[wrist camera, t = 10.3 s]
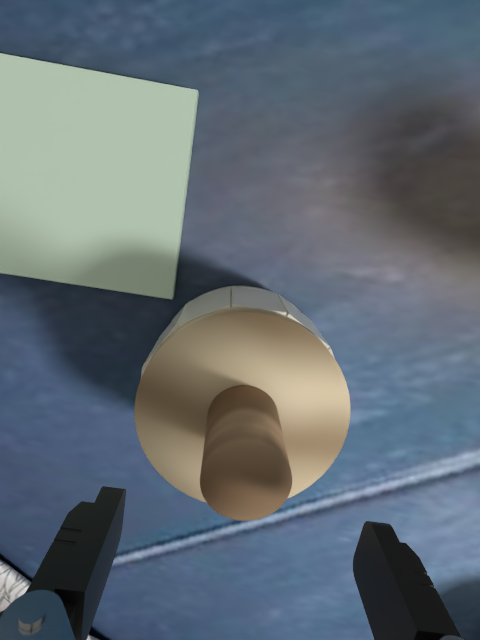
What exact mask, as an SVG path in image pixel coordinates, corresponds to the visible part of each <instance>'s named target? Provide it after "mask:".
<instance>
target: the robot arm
mask: <svg viewBox="0 0 480 640" xmlns="http://www.w3.org/2000/svg"><path fill="white" fill-rule="evenodd" d="M125 496H126V489H120V488H112V487H104V486H103V487H102V488H101V490H100V492H99V494H98V496H97V498H96V501H95V503H89V502H80V503H79V504H78V505H77V506H76V507H75V508H74V509H72V510H71V511H70V512H69V513H68V515H67V516H66V518H65V520H64V522H63V524H62V526H61V528H60V530H59V531H58V533H57V535H56V537H55V539H54V542H53V543H52V545H51V546H50V548H49V550H48V552H47V554H46V556H45V558H44V559H43V561H42V563H41V565H40V567H39V569H38V571H37V573H36V574H35V576H34V578H33V580H32V582H31V584H30V586H29V587H28V589H27V591H26V592H25V593H24V595H22V596H20V597H18V598H17V599H15V600H14V601H13V602H12V603H11V604H10V605H9V606H8V607H7V608H6V609H5V610H3V611H1V612H0V640H87V638H88V635H89V632H90V629H91V626H92V623H93V620H94V617H95V614H96V611H97V608H98V605H99V602H100V599H101V596H102V593H103V590H104V587H105V584H106V581H107V578H108V575H109V572H110V569H111V566H112V563H113V560H114V557H115V554H116V551H117V548H118V545H119V541H120V537H121V532H122V525H123V515H124V506H125ZM353 572H354V577H355V581H356V584H357V587H358V590H359V593H360V596H361V599H362V602H363V605H364V609H365V612H366V615H367V618H368V621H369V624H370V627H371V630H372V633H373V636H374V639H375V640H465V639H463V638H461V636H460V634H459V632H458V631H457V629H456V627H455V625H454V623H453V621H452V619H451V617H450V615H449V613H448V612H447V610H446V608H445V606H444V604H443V602H442V600H441V598H440V596H439V594H438V593H437V591H436V589H434V585H433V583H432V581H431V579H430V577H429V576H427V572H426V570H425V568H424V566H423V564H422V562H421V560H420V558H419V557H418V556H417V555H416V554H415V552H414V551H413V550H412V549H411V548H410V547H409V546H408V545H407V544H406V543H401V542H399V540H398V538H397V536H396V534H395V532H394V530H393V528H392V526H391V525H390V524H386V523H378V522H370V521H366V522H365V524H364V526H363V529H362V532H361V535H360V538H359V542H358V545H357V548H356V551H355V555H354V559H353Z"/></svg>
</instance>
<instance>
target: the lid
mask: <svg viewBox="0 0 480 640" xmlns="http://www.w3.org/2000/svg"><path fill="white" fill-rule="evenodd" d="M134 416H135V424H136V430H137V434H138V438H139V441H140V443H141V446H142V448H143V450H144V453H145V454H146V456H147V458H148V459H149V461H150V463H151V464H152V465H153V466H154V468H155V469H156V470H157V471H158V473H159V474H160V475H161V476H162V477H163V478H165V479H166V480H167V481H168V482H169V483H170V484H172V485H173V486H174V487H176V488H177V489H178V490H180V491H182V492H184V493H185V494H187V495H189V496H191V497H193V498H196V499H198V500H200V501H203V502H207V503H208V505H209V506H210V507H211V508H212V509H213V510H215V511H216V512H217V513H219V514H221V515H223V516H225V517H228V518H231V519H235V520H244V521H245V520H256V519H260V518H263V517H265V516H268V515H270V514H272V513H273V512H275V511H276V510H277V509H279V508H280V507H281V506H282V505H283V504H284V502H285V501H286V499H287V498H290V497H292V496H294V495H296V494H297V493H299V492H301V491H303V490H304V489H306V488H307V487H309V486H310V485H312V484H313V483H314V482H315V481H316V480H317V479H319V478H320V477H321V476H322V475H323V474H324V473H325V472H326V470H327V469H328V468H329V467H330V466H331V464H332V463H333V462H334V460H335V459H336V457H337V456H338V454H339V452H340V450H341V448H342V446H343V444H344V441H345V438H346V435H347V432H348V427H349V421H350V398H349V392H348V388H347V384H346V381H345V378H344V376H343V373H342V371H341V369H340V367H339V365H338V364H337V362H336V360H335V359H334V357H333V356H332V354H331V353H330V351H329V350H328V349H327V347H326V346H325V345H324V344H323V342H322V341H321V340H320V339H319V338H318V337H317V336H316V335H315V334H314V333H313V332H312V331H310V330H309V329H308V328H306V327H305V326H303V325H302V324H301V323H299V322H297V321H295V320H293V319H291V318H289V317H287V316H285V315H282V314H279V313H277V312H274V311H269V310H265V309H260V308H249V307H238V308H227V309H221V310H216V311H213V312H210V313H206V314H203V315H201V316H199V317H197V318H194V319H192V320H190V321H189V322H187V323H185V324H184V325H182V326H181V327H179V328H178V329H177V330H175V331H174V332H173V333H172V334H170V335H169V336H168V337H167V338H166V339H165V341H164V342H163V343H162V344H161V345H160V346H159V347H158V349H157V350H156V352H155V353H154V355H153V356H152V358H151V360H150V361H149V363H148V365H147V367H146V369H145V371H144V373H143V375H142V377H141V380H140V383H139V386H138V389H137V393H136V399H135V415H134Z"/></svg>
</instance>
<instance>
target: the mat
mask: <svg viewBox="0 0 480 640" xmlns="http://www.w3.org/2000/svg"><path fill="white" fill-rule="evenodd" d="M198 96H199V93H198V90H194V89H189V88H183V87H178V86H173V85H167V84H162V83H157V82H151V81H146V80H141V79H135V78H130V77H125V76H119V75H114V74H109V73H103V72H98V71H93V70H87V69H82V68H77V67H71V66H66V65H61V64H55V63H50V62H45V61H39V60H34V59H29V58H23V57H18V56H13V55H7V54H2V53H0V273H4V274H11V275H17V276H23V277H30V278H36V279H43V280H49V281H56V282H62V283H69V284H75V285H82V286H88V287H95V288H101V289H108V290H114V291H120V292H127V293H133V294H140V295H146V296H153V297H159V298H166V299H173V297H174V292H175V284H176V276H177V268H178V259H179V251H180V243H181V235H182V227H183V219H184V210H185V202H186V194H187V186H188V178H189V170H190V161H191V153H192V145H193V137H194V129H195V121H196V112H197V104H198Z"/></svg>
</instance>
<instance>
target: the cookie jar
mask: <svg viewBox="0 0 480 640" xmlns="http://www.w3.org/2000/svg"><path fill="white" fill-rule="evenodd" d="M30 584H31V582H30V581H29V580H28V579H26V578H25V577H24V576H22V575H21V574H20V573H18V572H17V571H16V570H15V569H13V568H12V567H11V566H9V565H8V564H7V563H5V562H4V561H3V560H1V559H0V612H1V611H3V610H5V609H6V608H7V607H8V606H9V605H10V604H11V603H12V602H13V601H14V600H15V599H17V598H18V597H20V596H22V595H24V593H25V592H26V591H27V589H28V587H29V586H30ZM87 640H99V639H97V638H95V637H92V636H90V635H88V638H87Z"/></svg>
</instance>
